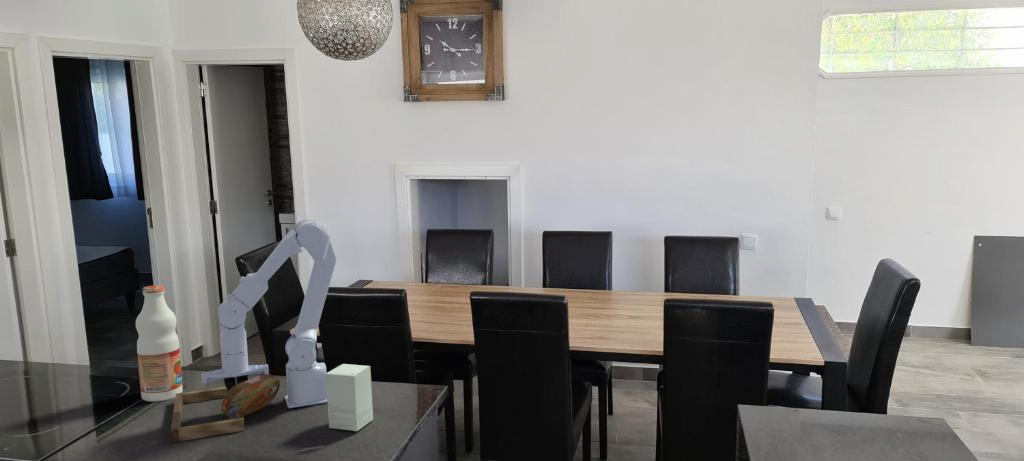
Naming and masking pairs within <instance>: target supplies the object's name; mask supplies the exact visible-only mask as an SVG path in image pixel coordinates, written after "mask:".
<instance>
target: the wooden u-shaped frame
mask: <svg viewBox="0 0 1024 461" xmlns="http://www.w3.org/2000/svg"><path fill="white" fill-rule="evenodd" d="M227 392H228V389H227V388H226V386H221V387H213V388H205V389H200V390H193V391H192V390H191V391H187V392H184V391H183V392H182V393H177V394H176V396H175V397H174V404H173V411H172V420H171V428H170V438H171V439H170V441H171V442H170V443H171V444H172V443H173V444H174V443H177V442H178V443H180V442H185V441H189V440H190V441H192V440H195V439H202V438H209V437H213V436H214V437H215V436H221V435H225V434H226V435H227V434H233V433H238V432H243V431H245V430H246V429H245V419H244V417H245V416H243V417H241V418H236V419H230V418H228V419H223V420H218V421H212V422H206V423H198V424H193V425H188V426H187V425H186V426H182V421H183V420H182V418H183V409H184V405H185V404H191V403H197V402H198V403H199V402H204V401H210V400H211V401H212V400H218V399H224V397H225V395H226V394H227Z"/></svg>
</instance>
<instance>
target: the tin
mask: <svg viewBox="0 0 1024 461" xmlns="http://www.w3.org/2000/svg"><path fill="white" fill-rule="evenodd" d="M280 382H281V381H280V380H279V378H277V377H275V376H274V375H272V374H271V373H269V374H268V375H266V374H261V375H256V376H253V377H251V378H248V380H247V381H244V382H241V383H239V384H237V383H236V385H235V386H234V387H232V388H231V389H230V390H229V391H228V392H227V394H226V395H225V397H224V398H222V399H223V400H222V402H221V411H222V413H223V414H225V415H226V417H228V419H236V418H242V417H245V416H247V415H249V414H252V413H254V412H256V411H258V410H260V409H263V408H265V407H266V406H268V405H269V404H270V403H272V401H273V400H274V399H275V397H276V395H277V394H278V392H279V390H280V387H281V385H280V384H281V383H280Z"/></svg>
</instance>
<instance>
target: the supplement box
mask: <svg viewBox="0 0 1024 461" xmlns="http://www.w3.org/2000/svg"><path fill="white" fill-rule="evenodd" d="M371 374H372V372H371V366H370V365H362V364H361V365H359V364H351V363H350V364H348V363H342V364H340V365H338V366H336V367H335V368H333V369H331V370H330V371H328V372H327V373H326V386H327V402H326V403H327V415H328V416H327V417H328V428H329V429H334V430H335V429H336V430H342V431H343V430H345V431H352V432H358V431H359V430H361V429H363V427H365V426H366V425H368V424H369V423H371V422H372V421H373V420H374V412H373V411H374V410H373V392H372V390H373V389H372V375H371Z"/></svg>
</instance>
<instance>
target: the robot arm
mask: <svg viewBox="0 0 1024 461" xmlns="http://www.w3.org/2000/svg"><path fill="white" fill-rule="evenodd" d="M302 248H303V249H305V250H306V251H307V252H308V254H309V256H310V257H311V259H312V260H313V266H312V270H311V273H310V277H309V279H308V280H309V281H308V284H307V286H306V287H307V288H306V291H305V294H304V298H303V302H302V306H301V309H300V312H299V316H298V320H297V322H296V325H295V327H294V328H293V332H292V334H291V336H290V337H288V339H287V341H286V343H285V346H284V347H285V348H284V349H285V354H286V355H287V356H288V362H287V363H286V364H285V373H286V376H285V377H286V391H287V392H286V393H287V395H286V396H284V400H285V403H286V407H287V408H288V409H293V408H294V409H295V408H299V407H304V406H312V405H317V404H324V403H328V402H327V386H326V373H328V372H327V366H326V364H325V362H317V350H316V344H317V338H318V335H317V334H318V328H319V324H320V320H321V317H322V313H323V309H324V305H325V302H326V299H327V295H328V292H329V288H330V285H331V284H330V283H331V280H332V277H333V275H334V270H335V266H336V263H337V256H336V253H335V252H334V248H333V245H332V242H331V239H330V235H329V234H328V232H326V230H325V229H324V228H323V226H321V225H320V224H318V223H317V222H315V221H314V220H311V219H302V220H301V221H298V222H297V223H296V225H295V226H294V229H291V230H289V231H288V232H287V233H286V235H285V236H284V237H283V238H282V239H281V240H280V242H279V243H278V244H277V245H276V247H274V250H273V251H272V252H271V253H270V254H269V255H268V257H267V258H266V260H265V261H264V262H263V264H262V265H261V266H260V267H259V268H258V270H257V271H256V272H252V273H247V275H246V276H241V277H240V279H239V281H238V282H239V284H238V285H237V287H236V288H235V289H234V290H233V291H232V292H231V294H229V293H228V294H227V295H226V297H225V299H226V300H224V301H223V302H221V304H220V305H219V307H218V310H217V316H218V321H219V331H220V333H219V342H220V343H219V345H220V358H221V368H219V369H216V370H211V371H207V372H202V373H201V384H207V383H208V382H209V383H210V382H216V381H217V382H218V381H224V382H223V385H224V387H226V388H227V389H228V391H229V390H230V389H231V388H232V387H234V386H235V385H237V384H239V383H241V382H244V381H247V380H249V377H255V376H259V375H262V374H266V375H268V374H270V373H269V372H270V369H269V364H255V365H254V364H251V365H250V364H249V355H248V344H247V343H248V342H247V331H246V329H245V328H246V327H245V322H246V319H247V312H249V311H251V310H252V309H253V308H254V306H256V304H257V303H258V302H259V300H261V298H262V297H263V295H265V293H266V292H267V291H268V290H269V283H268V281H269V280H270V279H271V278H272V276H274V274H275V273H276V272H277V271H278V270H279V269H280V267H281V266H282V265H283V264H284V263H285V262H286V261H287V260H288V258H290V257H291V256H294V255H297V254H301V253H303V252H304V251H303V250H302Z"/></svg>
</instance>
